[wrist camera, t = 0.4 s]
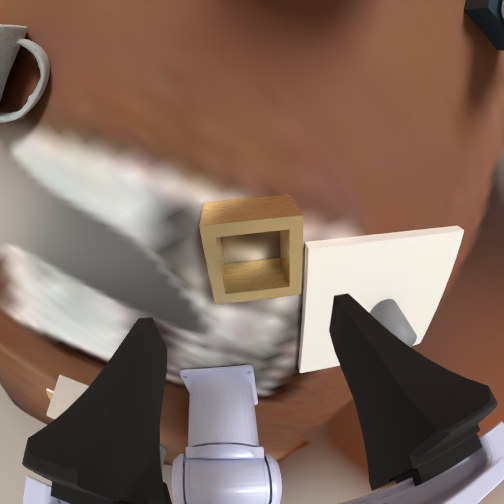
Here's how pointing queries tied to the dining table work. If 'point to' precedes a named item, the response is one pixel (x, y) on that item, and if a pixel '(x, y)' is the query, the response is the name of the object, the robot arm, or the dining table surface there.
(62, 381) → the architectural model
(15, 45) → the ceramic mug
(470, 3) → the watch
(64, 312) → the dining table surface
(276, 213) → the wooden square ring
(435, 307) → the post stand
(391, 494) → the robot arm
